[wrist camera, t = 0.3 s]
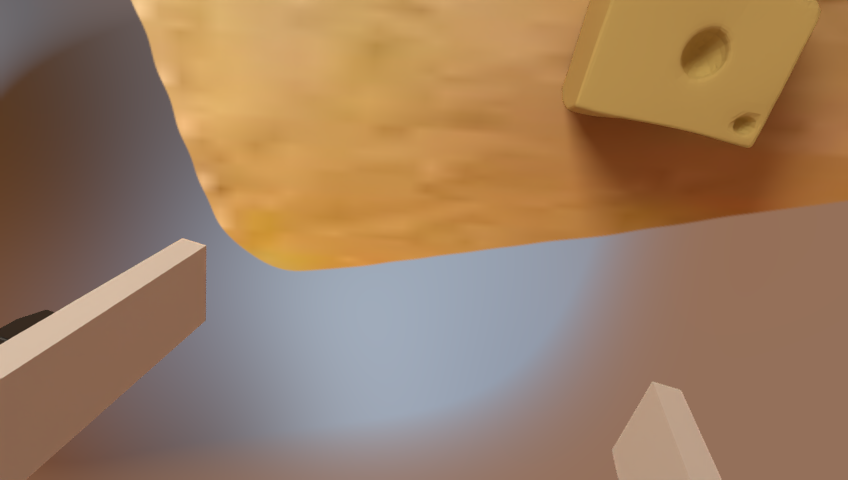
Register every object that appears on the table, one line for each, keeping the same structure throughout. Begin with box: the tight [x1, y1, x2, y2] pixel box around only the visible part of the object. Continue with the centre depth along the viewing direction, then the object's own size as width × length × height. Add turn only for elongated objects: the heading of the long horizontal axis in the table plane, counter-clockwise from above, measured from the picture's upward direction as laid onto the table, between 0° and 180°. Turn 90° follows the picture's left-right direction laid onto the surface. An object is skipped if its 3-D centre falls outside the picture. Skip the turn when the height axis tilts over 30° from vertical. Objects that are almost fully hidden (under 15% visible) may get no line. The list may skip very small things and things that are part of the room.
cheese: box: [562, 0, 821, 148], centre depth 27 cm, size 10×11×10 cm
